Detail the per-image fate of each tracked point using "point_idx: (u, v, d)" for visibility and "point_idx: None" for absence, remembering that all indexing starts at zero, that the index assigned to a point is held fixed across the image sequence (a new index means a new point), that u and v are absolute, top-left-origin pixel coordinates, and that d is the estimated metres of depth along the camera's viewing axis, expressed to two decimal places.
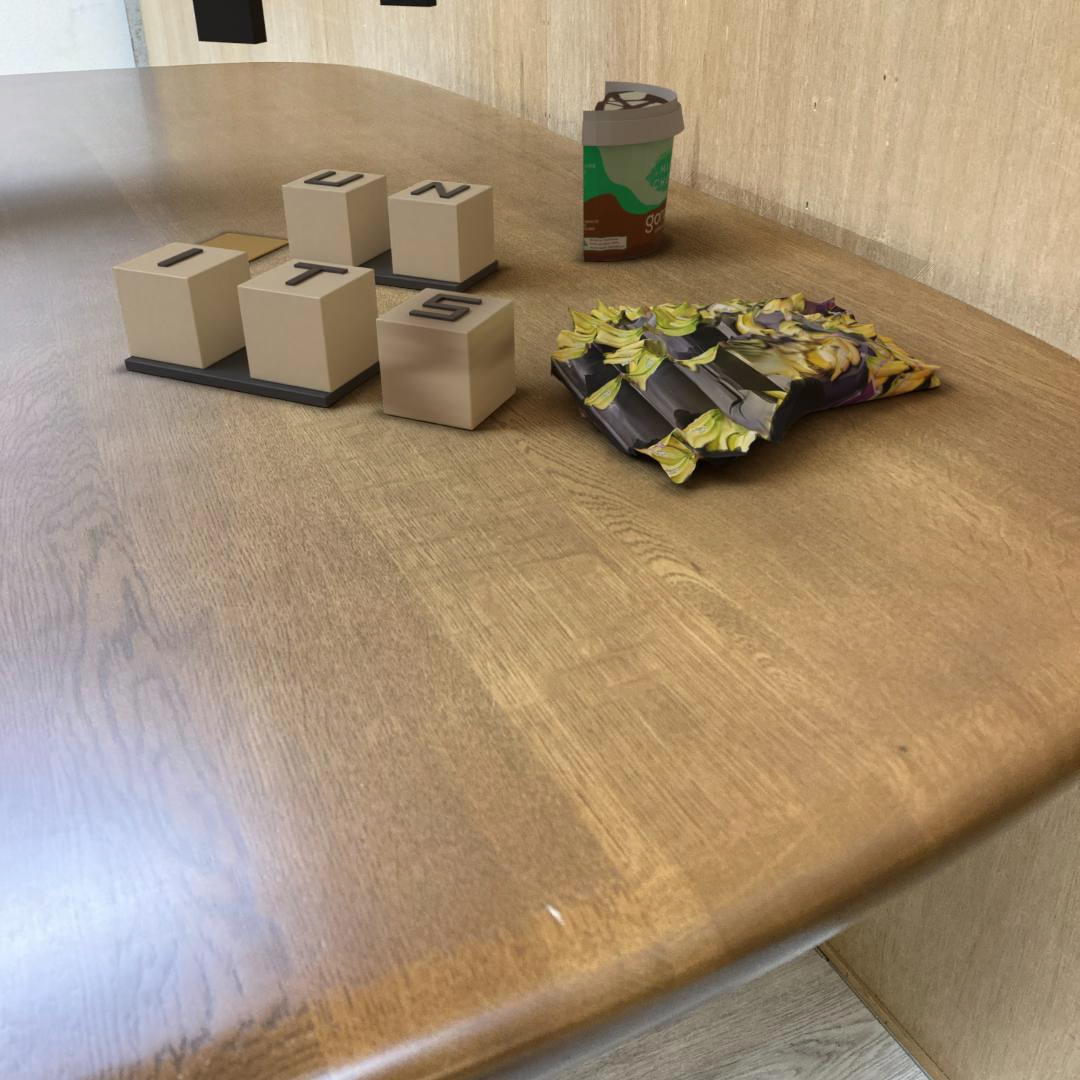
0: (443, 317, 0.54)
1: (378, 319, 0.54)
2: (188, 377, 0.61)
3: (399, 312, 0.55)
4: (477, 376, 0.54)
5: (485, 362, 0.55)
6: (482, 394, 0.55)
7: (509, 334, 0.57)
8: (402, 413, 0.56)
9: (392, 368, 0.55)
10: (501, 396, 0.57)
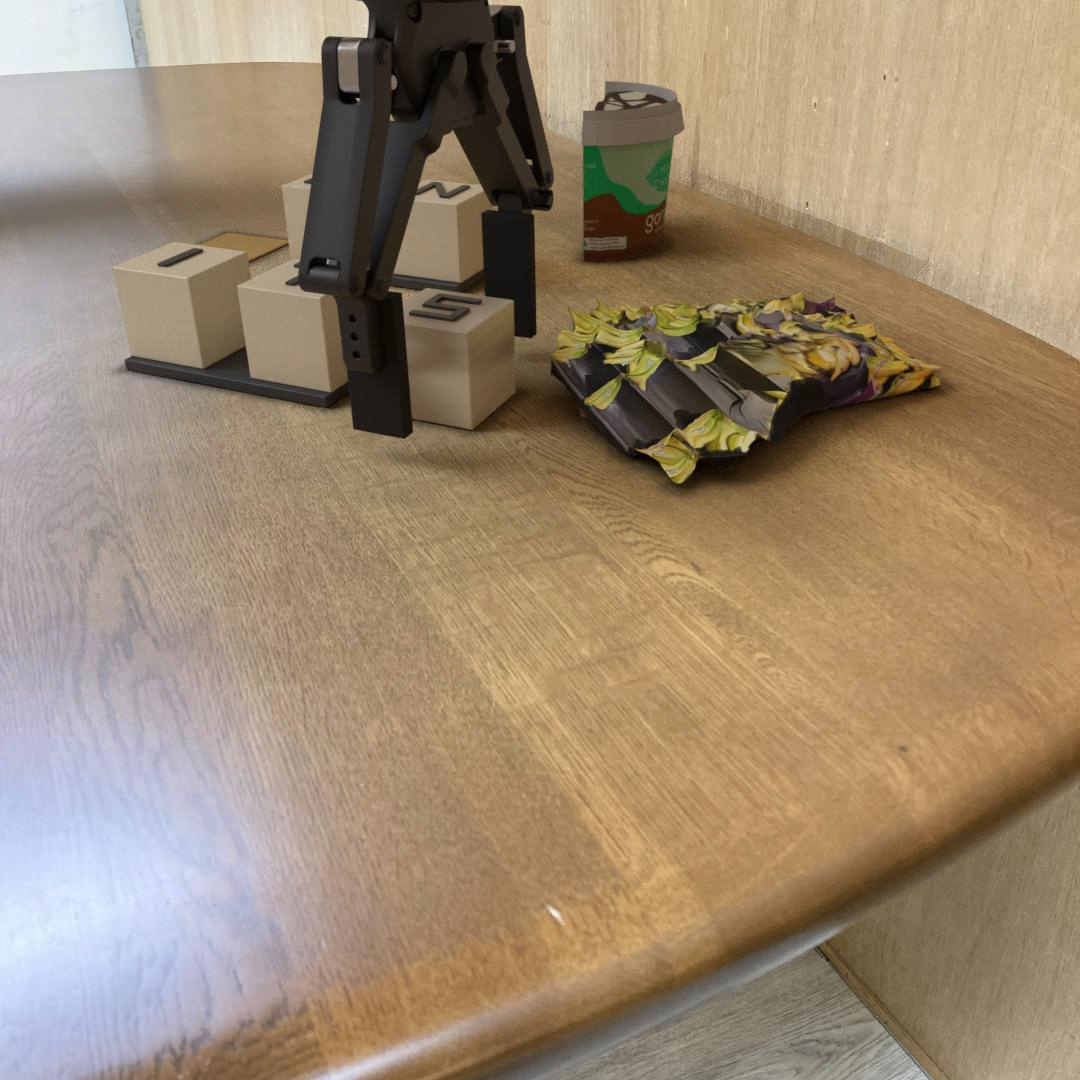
0: (443, 317, 0.54)
1: None
2: (188, 377, 0.61)
3: None
4: (477, 376, 0.54)
5: (485, 362, 0.55)
6: (482, 394, 0.55)
7: (509, 334, 0.57)
8: None
9: None
10: (501, 396, 0.57)
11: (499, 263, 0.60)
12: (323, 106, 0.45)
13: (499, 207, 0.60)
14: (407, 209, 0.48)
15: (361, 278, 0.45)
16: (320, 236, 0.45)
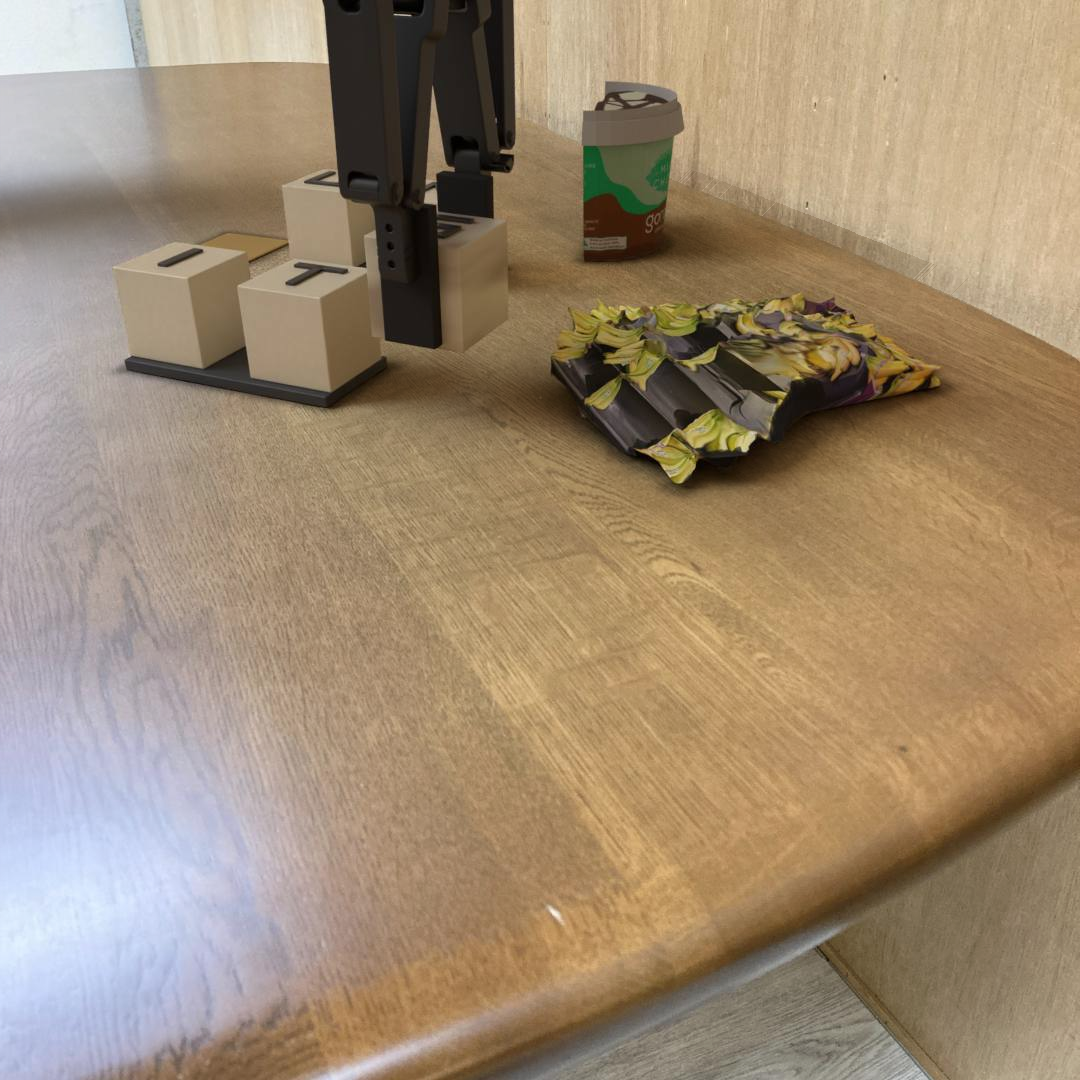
0: None
1: (366, 236, 0.53)
2: (188, 377, 0.61)
3: None
4: (469, 296, 0.53)
5: (477, 283, 0.53)
6: (474, 316, 0.54)
7: (502, 256, 0.55)
8: None
9: None
10: (493, 321, 0.56)
11: None
12: (325, 15, 0.44)
13: (456, 168, 0.55)
14: (426, 108, 0.48)
15: (399, 185, 0.47)
16: (352, 150, 0.47)
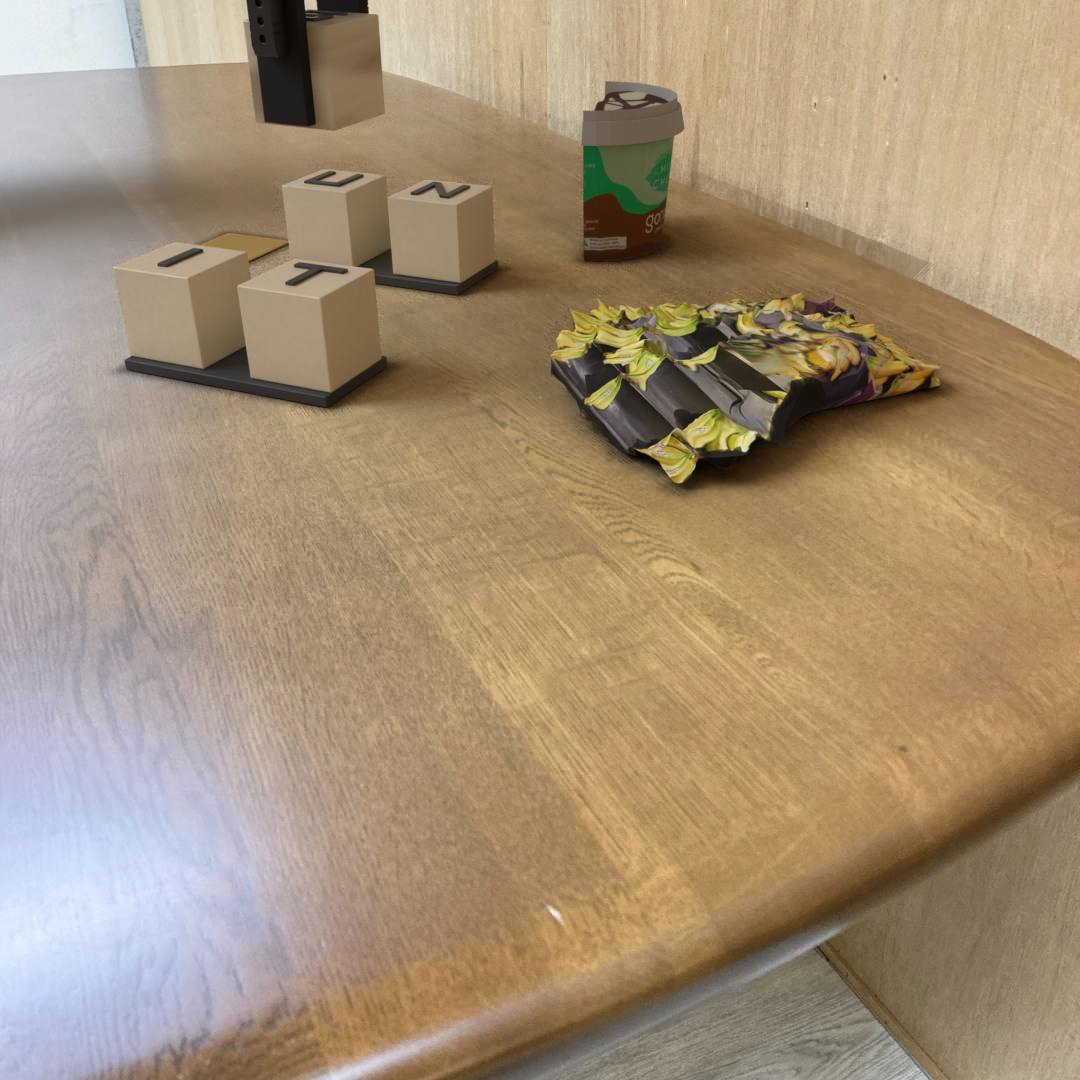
0: None
1: (245, 21, 0.58)
2: (188, 377, 0.61)
3: None
4: (338, 76, 0.58)
5: (347, 65, 0.58)
6: (345, 97, 0.59)
7: (374, 48, 0.60)
8: None
9: None
10: (367, 110, 0.61)
11: None
12: None
13: None
14: None
15: None
16: None
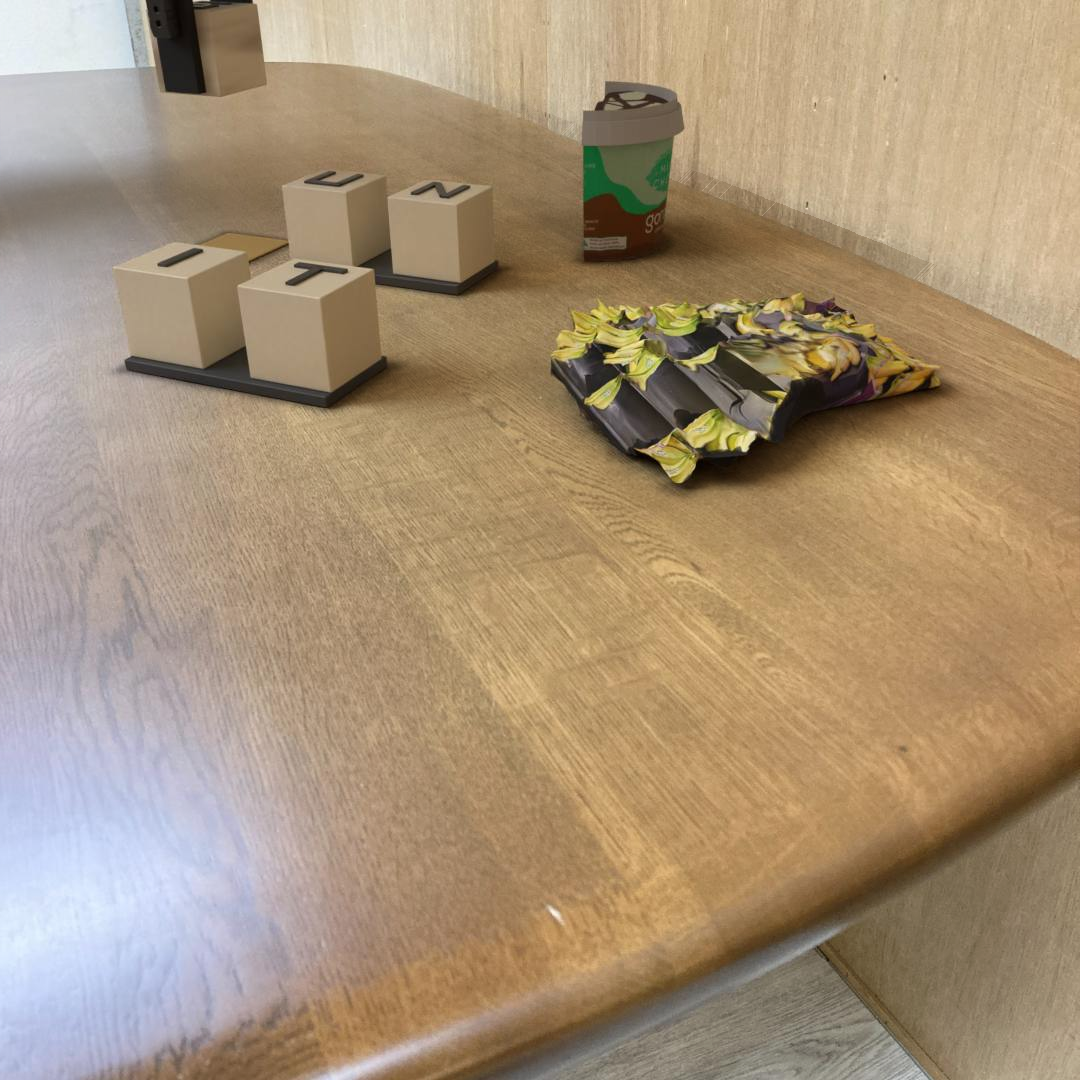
0: (195, 6, 0.72)
1: None
2: (188, 377, 0.61)
3: None
4: (222, 53, 0.72)
5: (230, 44, 0.73)
6: (229, 70, 0.73)
7: (254, 31, 0.75)
8: None
9: None
10: (251, 81, 0.75)
11: None
12: None
13: None
14: None
15: None
16: None
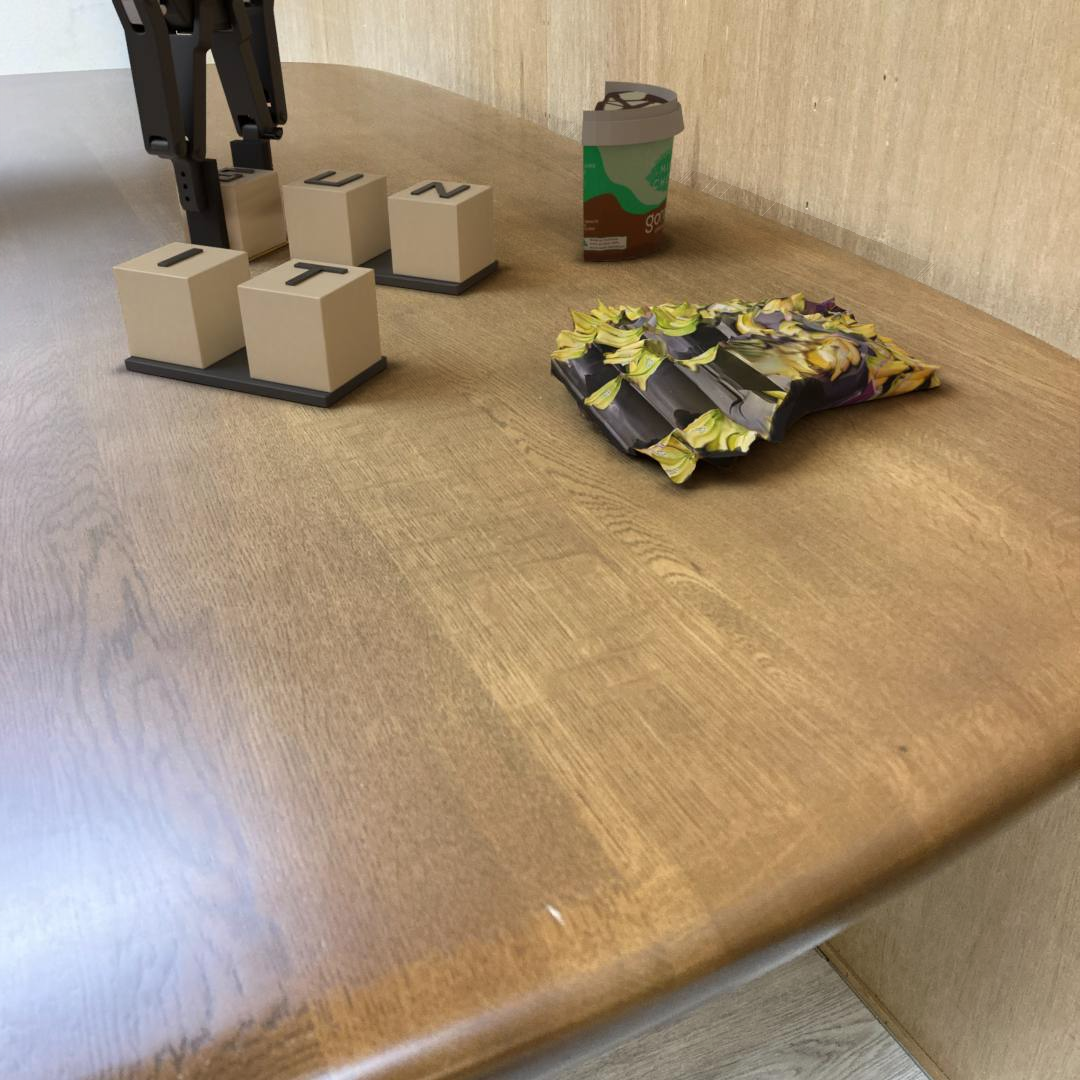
0: (221, 179, 0.78)
1: None
2: (188, 377, 0.61)
3: None
4: (246, 221, 0.78)
5: (253, 212, 0.79)
6: (252, 235, 0.79)
7: (275, 196, 0.80)
8: None
9: None
10: (271, 241, 0.81)
11: None
12: (125, 35, 0.70)
13: (243, 137, 0.81)
14: (202, 94, 0.74)
15: (182, 143, 0.73)
16: (149, 121, 0.72)
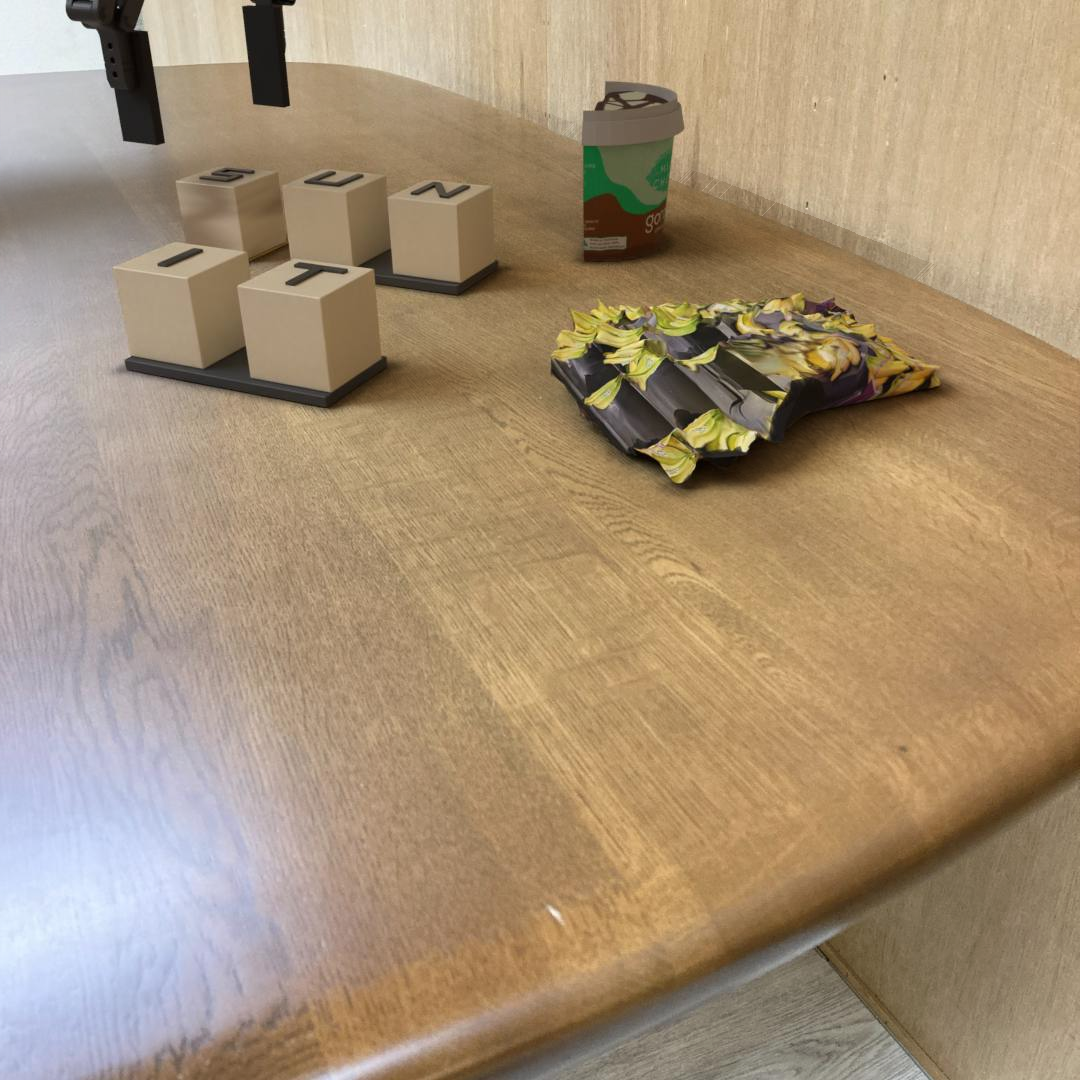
0: (221, 179, 0.78)
1: (177, 181, 0.78)
2: (188, 377, 0.61)
3: (193, 177, 0.79)
4: (246, 221, 0.78)
5: (253, 212, 0.79)
6: (252, 235, 0.79)
7: (275, 196, 0.80)
8: None
9: (189, 217, 0.79)
10: (272, 241, 0.81)
11: (257, 46, 0.81)
12: None
13: (256, 2, 0.80)
14: None
15: (108, 9, 0.65)
16: None
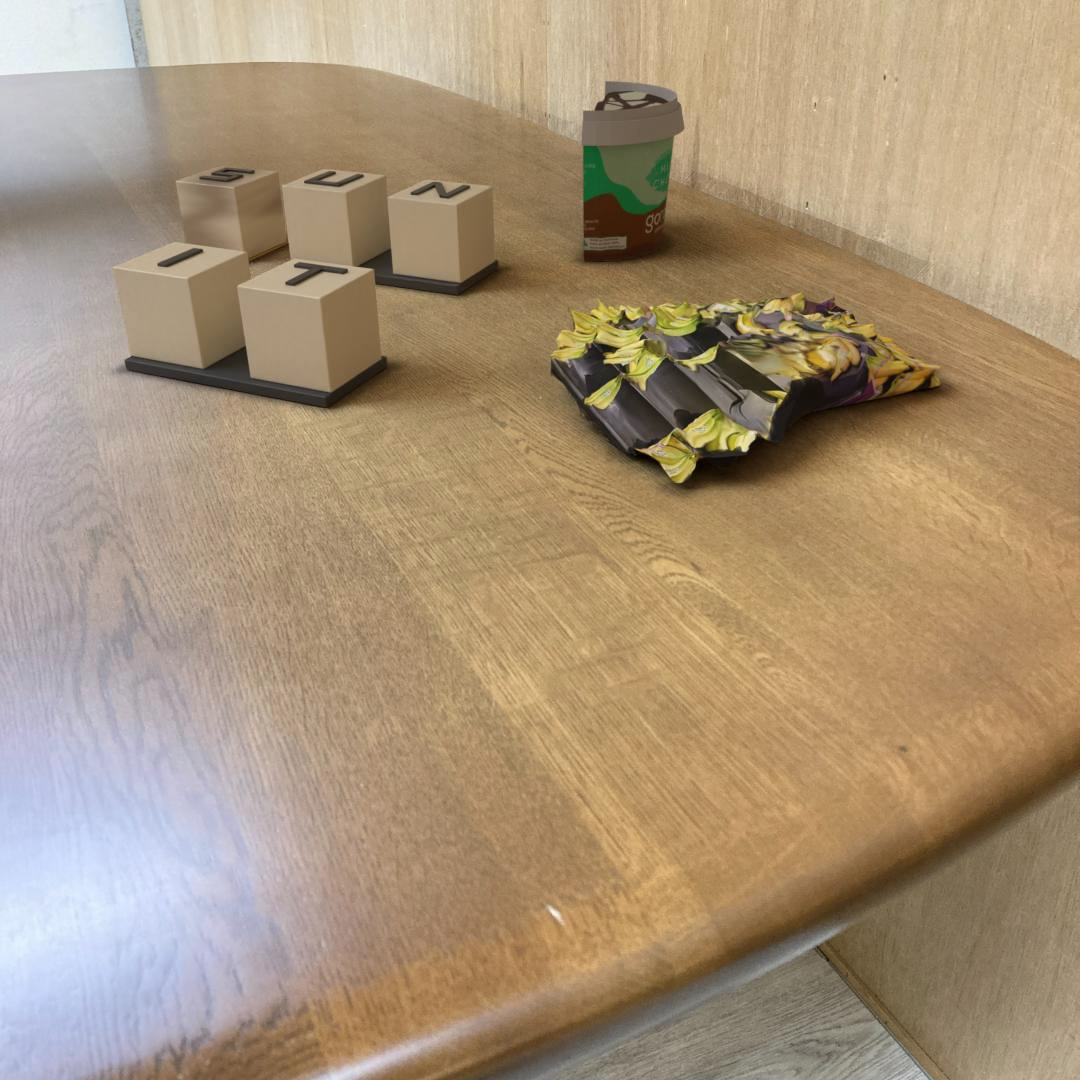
0: (221, 179, 0.78)
1: (177, 181, 0.78)
2: (188, 377, 0.61)
3: (193, 177, 0.79)
4: (246, 221, 0.78)
5: (253, 212, 0.79)
6: (252, 235, 0.79)
7: (275, 196, 0.80)
8: None
9: (189, 217, 0.79)
10: (272, 241, 0.81)
11: None
12: None
13: None
14: None
15: None
16: None
